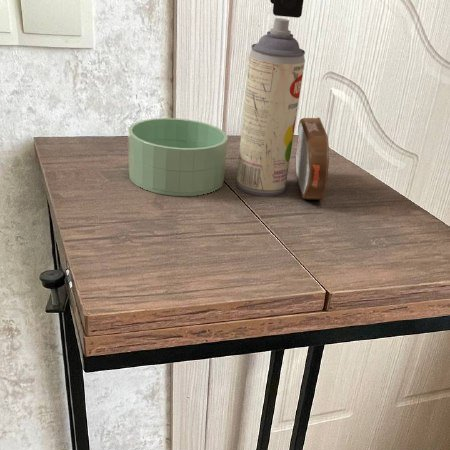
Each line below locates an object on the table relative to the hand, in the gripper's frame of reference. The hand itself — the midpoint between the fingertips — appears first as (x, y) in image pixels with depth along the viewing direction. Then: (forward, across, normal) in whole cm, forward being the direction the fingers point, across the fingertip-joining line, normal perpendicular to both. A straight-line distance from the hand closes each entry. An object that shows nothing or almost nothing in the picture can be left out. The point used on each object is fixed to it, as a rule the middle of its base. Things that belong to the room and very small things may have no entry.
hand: (284, 9), depth 73 cm
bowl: (+21, 0, +12) cm, 24 cm away
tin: (+21, +1, -6) cm, 22 cm away
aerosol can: (+21, 0, 0) cm, 21 cm away
